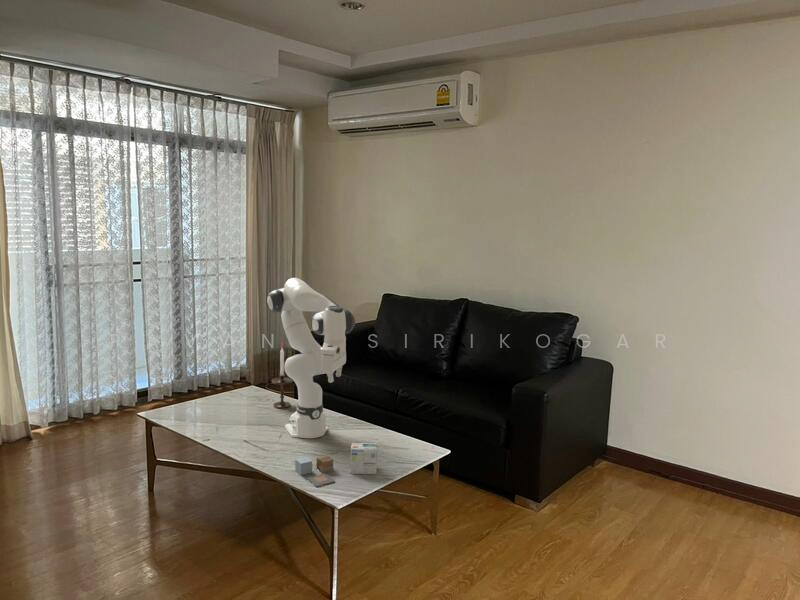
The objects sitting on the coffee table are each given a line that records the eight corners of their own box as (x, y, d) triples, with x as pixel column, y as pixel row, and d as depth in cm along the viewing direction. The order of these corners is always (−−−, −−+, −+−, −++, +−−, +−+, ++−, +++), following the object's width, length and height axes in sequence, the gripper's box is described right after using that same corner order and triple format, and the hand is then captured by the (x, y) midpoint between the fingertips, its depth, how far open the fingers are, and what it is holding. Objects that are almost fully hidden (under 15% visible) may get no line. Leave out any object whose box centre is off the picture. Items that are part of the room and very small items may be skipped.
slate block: (295, 471, 235) (295, 459, 234) (306, 468, 238) (306, 456, 237) (300, 475, 231) (300, 463, 230) (312, 472, 234) (312, 460, 233)
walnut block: (316, 469, 237) (316, 457, 236) (327, 466, 240) (327, 454, 239) (322, 473, 233) (322, 462, 232) (333, 470, 236) (333, 459, 235)
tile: (307, 479, 228) (307, 477, 227) (325, 474, 232) (325, 472, 232) (316, 487, 221) (316, 485, 221) (334, 482, 226) (334, 480, 226)
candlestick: (287, 401, 320) (287, 339, 315) (295, 407, 311) (295, 343, 306) (268, 404, 314) (268, 341, 309) (276, 410, 305) (275, 345, 300)
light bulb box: (376, 467, 240) (377, 442, 239) (376, 474, 234) (377, 449, 232) (350, 467, 240) (351, 442, 238) (350, 474, 233) (350, 448, 232)
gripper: (335, 340, 248) (335, 372, 249) (319, 350, 228) (318, 385, 230) (349, 341, 246) (349, 373, 248) (334, 351, 227) (334, 386, 228)
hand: (334, 379), depth 239 cm, fingers open, 8 cm apart
